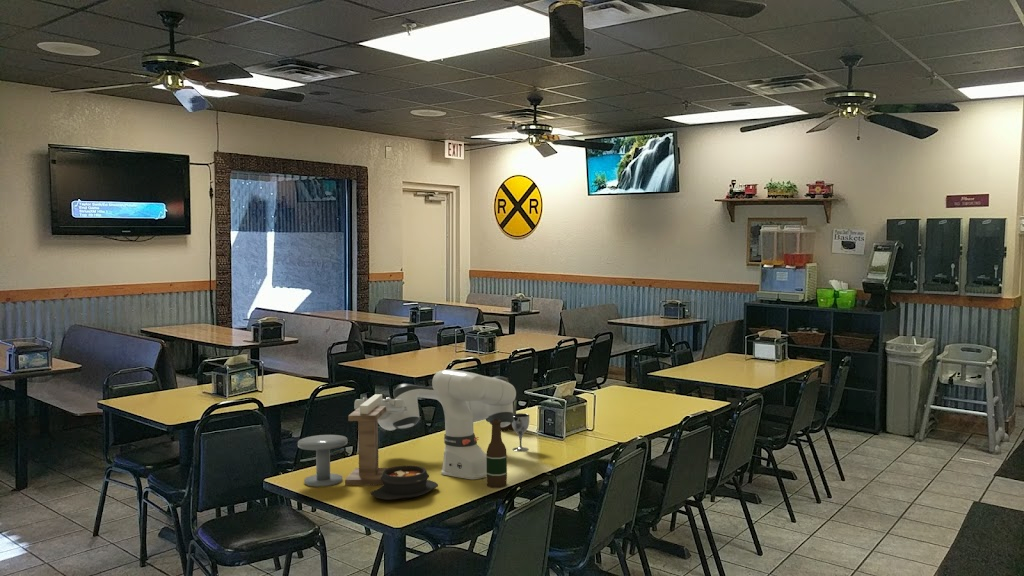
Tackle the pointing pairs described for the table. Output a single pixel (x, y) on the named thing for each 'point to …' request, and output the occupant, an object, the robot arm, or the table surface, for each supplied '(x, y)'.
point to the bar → (370, 404)
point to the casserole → (404, 483)
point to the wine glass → (520, 428)
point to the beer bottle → (496, 458)
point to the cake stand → (322, 458)
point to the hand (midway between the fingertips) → (376, 399)
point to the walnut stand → (367, 448)
